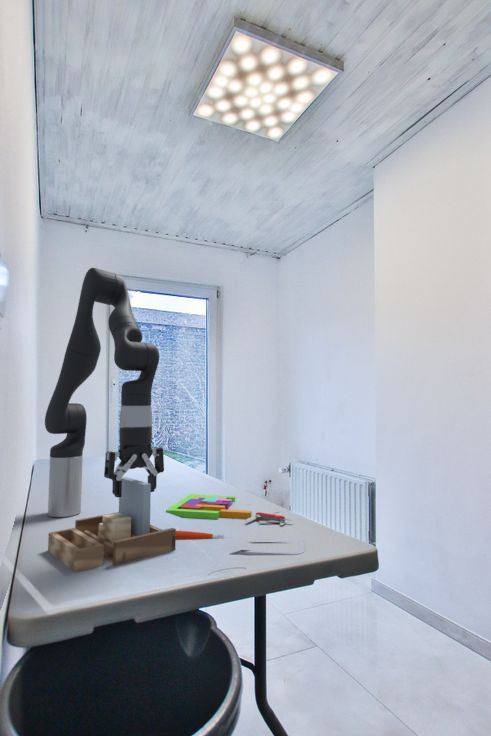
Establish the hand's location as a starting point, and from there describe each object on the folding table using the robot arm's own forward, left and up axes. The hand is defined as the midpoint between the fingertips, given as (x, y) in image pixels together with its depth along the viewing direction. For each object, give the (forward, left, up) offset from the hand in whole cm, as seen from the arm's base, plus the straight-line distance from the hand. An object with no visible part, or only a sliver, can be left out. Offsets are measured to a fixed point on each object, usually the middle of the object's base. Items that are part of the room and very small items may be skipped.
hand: (134, 494), depth 101 cm
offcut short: (0, -5, -7) cm, 8 cm away
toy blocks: (-15, +36, -13) cm, 41 cm away
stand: (+1, -14, -12) cm, 19 cm away
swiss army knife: (+7, +39, -13) cm, 42 cm away
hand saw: (+16, +18, -13) cm, 28 cm away
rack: (0, -3, -12) cm, 12 cm away
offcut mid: (-1, -5, -9) cm, 10 cm away
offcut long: (0, -5, -11) cm, 12 cm away
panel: (0, 0, -11) cm, 11 cm away
